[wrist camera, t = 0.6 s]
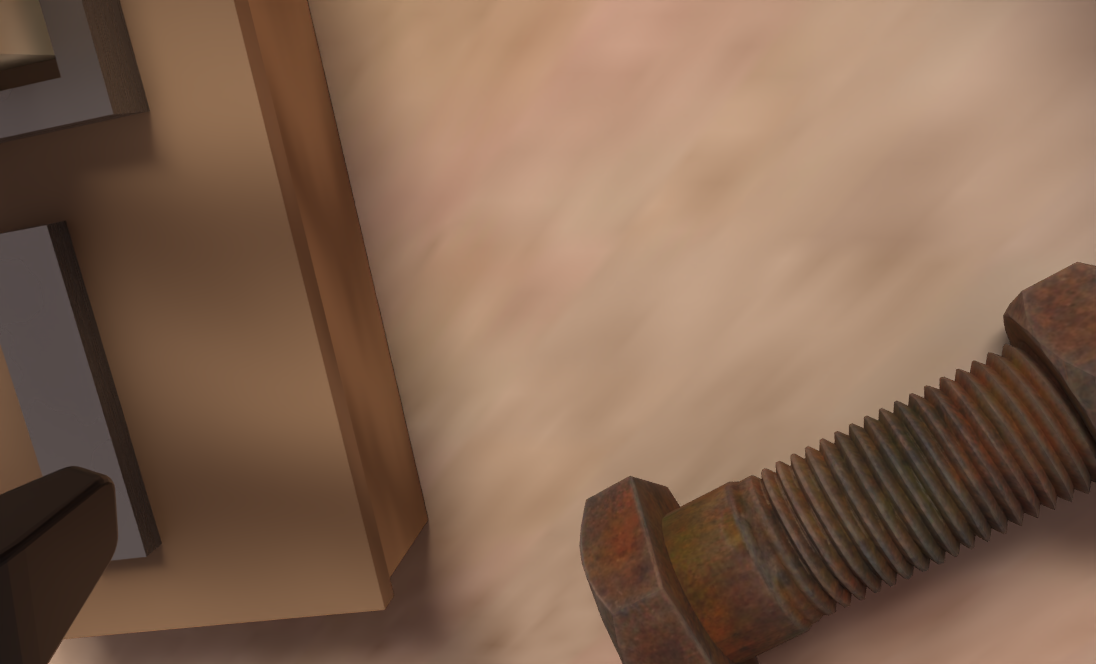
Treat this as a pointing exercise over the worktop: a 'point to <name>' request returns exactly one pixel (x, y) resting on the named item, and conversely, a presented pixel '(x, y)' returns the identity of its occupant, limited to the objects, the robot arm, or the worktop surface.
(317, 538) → the brown slab with collar
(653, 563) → the bolt
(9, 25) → the pale gold square block
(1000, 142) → the worktop surface
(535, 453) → the worktop surface
